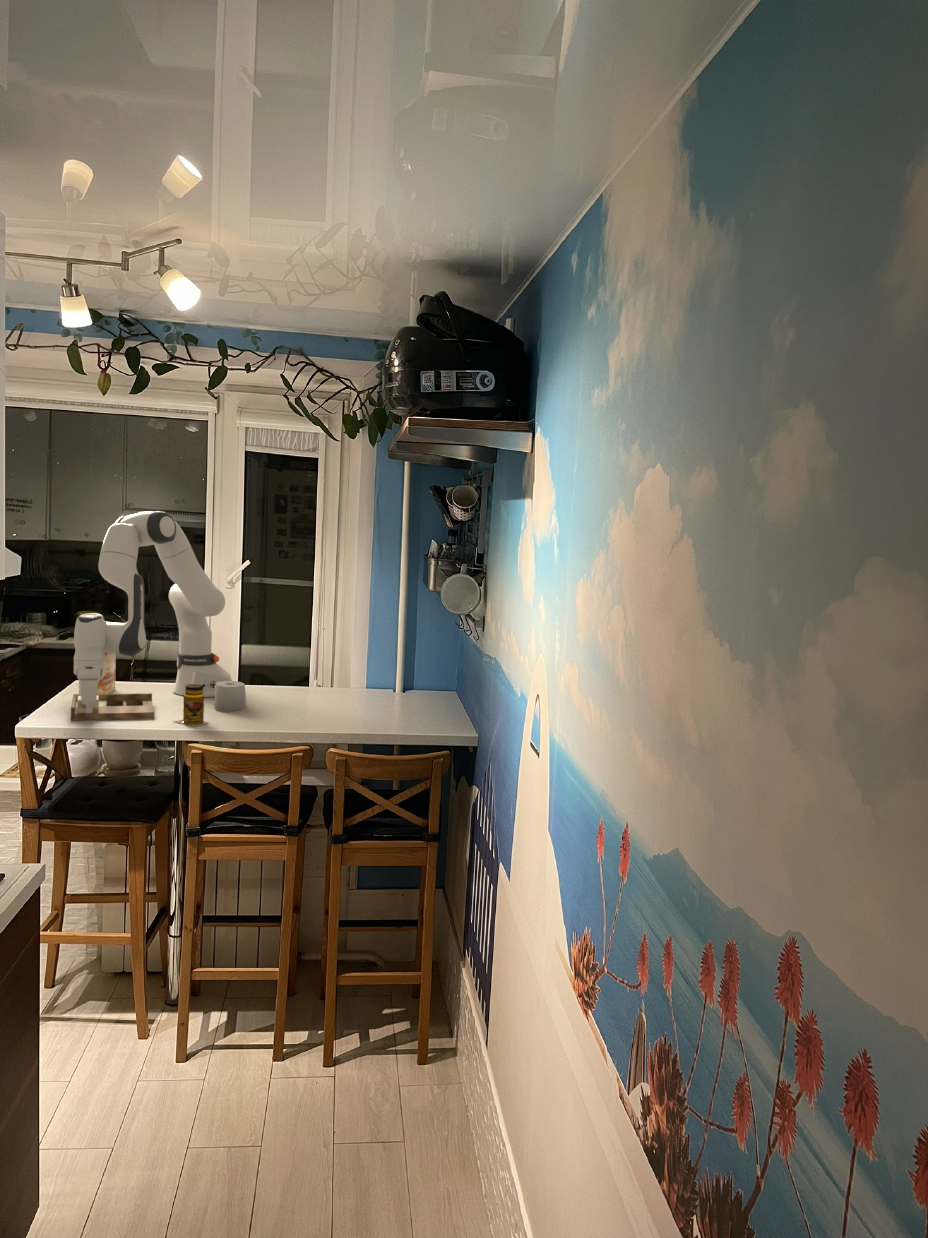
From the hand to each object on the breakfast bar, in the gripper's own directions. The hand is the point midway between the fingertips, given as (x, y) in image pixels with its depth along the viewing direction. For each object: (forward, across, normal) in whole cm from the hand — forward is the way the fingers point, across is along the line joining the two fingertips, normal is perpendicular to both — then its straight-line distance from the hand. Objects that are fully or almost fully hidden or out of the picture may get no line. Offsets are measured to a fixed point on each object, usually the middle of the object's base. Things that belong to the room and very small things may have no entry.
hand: (89, 712), depth 277 cm
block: (+1, -6, 0) cm, 6 cm away
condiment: (+3, +4, +30) cm, 30 cm away
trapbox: (+3, -11, +7) cm, 13 cm away
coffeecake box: (+3, -38, +2) cm, 38 cm away
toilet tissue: (+3, -13, +44) cm, 46 cm away
